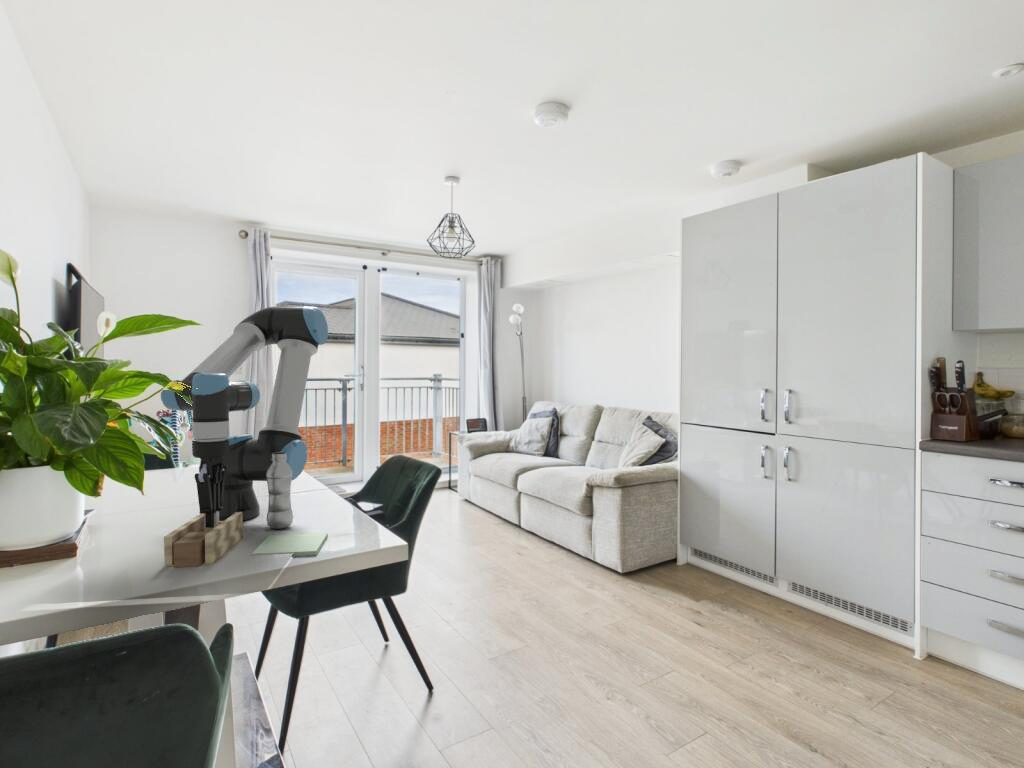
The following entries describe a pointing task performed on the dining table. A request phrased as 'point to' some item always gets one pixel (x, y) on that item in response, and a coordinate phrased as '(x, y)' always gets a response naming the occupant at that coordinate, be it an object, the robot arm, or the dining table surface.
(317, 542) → the green pad
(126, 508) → the dining table surface
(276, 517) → the plastic bottle
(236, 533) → the oak rack
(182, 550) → the walnut block
